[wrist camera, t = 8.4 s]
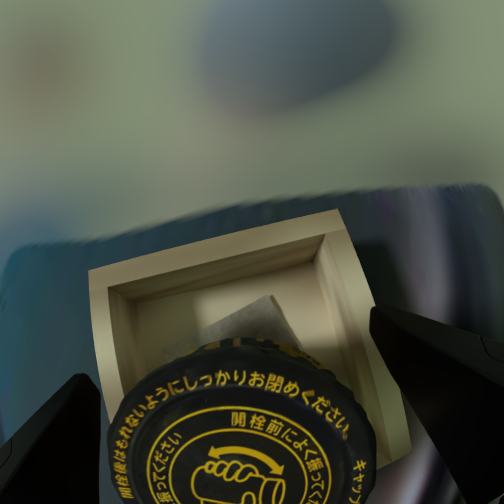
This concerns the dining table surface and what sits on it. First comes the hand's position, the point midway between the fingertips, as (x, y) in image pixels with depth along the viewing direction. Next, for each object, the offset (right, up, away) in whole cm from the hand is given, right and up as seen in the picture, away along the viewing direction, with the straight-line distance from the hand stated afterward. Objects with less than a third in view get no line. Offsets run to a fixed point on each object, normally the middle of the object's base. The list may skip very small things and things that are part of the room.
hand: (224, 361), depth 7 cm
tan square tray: (+1, -5, +8) cm, 10 cm away
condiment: (+1, -5, +8) cm, 9 cm away
